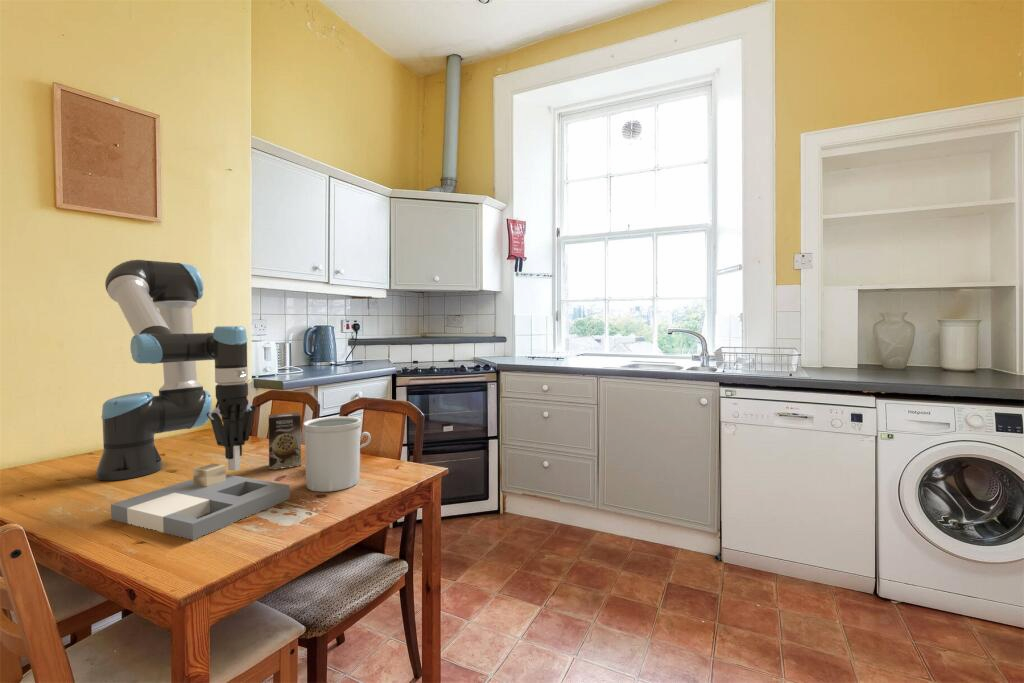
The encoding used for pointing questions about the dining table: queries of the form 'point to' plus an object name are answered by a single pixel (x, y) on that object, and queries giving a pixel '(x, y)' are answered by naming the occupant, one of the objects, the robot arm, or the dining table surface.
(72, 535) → the dining table surface
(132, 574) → the dining table surface
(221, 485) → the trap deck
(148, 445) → the robot arm
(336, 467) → the utensil holder
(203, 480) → the birch block
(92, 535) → the dining table surface
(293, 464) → the coffee box
